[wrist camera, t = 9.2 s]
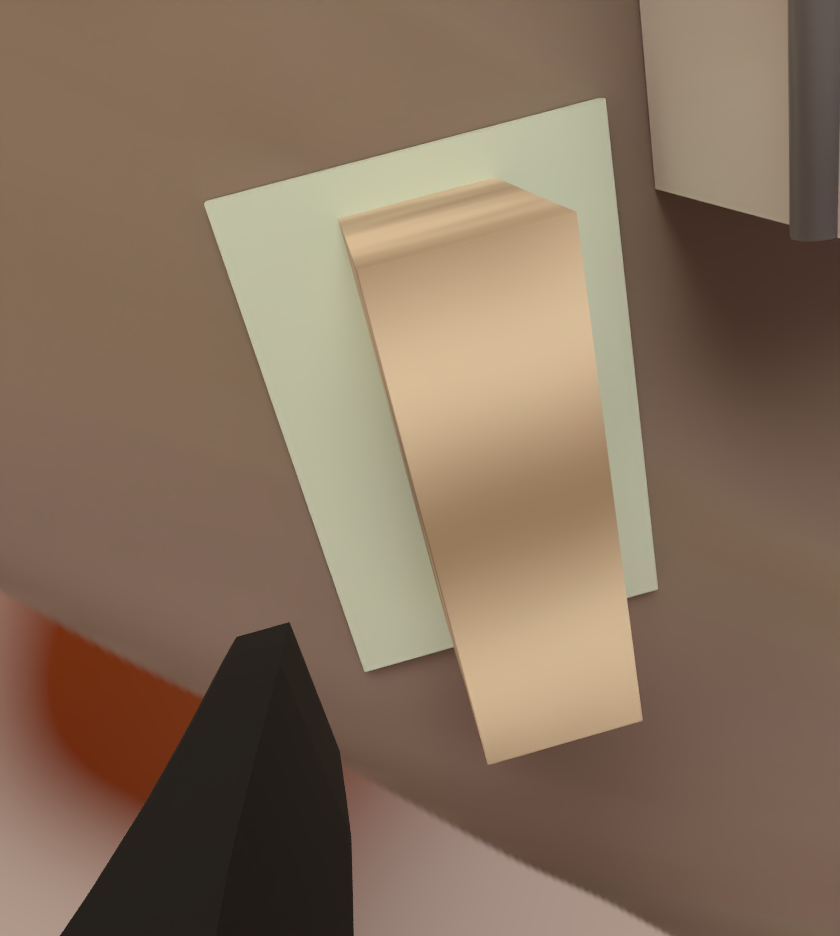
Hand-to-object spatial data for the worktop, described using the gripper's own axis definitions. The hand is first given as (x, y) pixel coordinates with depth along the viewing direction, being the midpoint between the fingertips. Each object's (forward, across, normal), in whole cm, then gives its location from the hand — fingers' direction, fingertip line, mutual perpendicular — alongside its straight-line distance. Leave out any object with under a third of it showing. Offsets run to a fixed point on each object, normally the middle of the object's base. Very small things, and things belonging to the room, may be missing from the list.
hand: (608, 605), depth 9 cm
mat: (+9, 0, +2) cm, 10 cm away
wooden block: (+9, 0, +1) cm, 9 cm away
